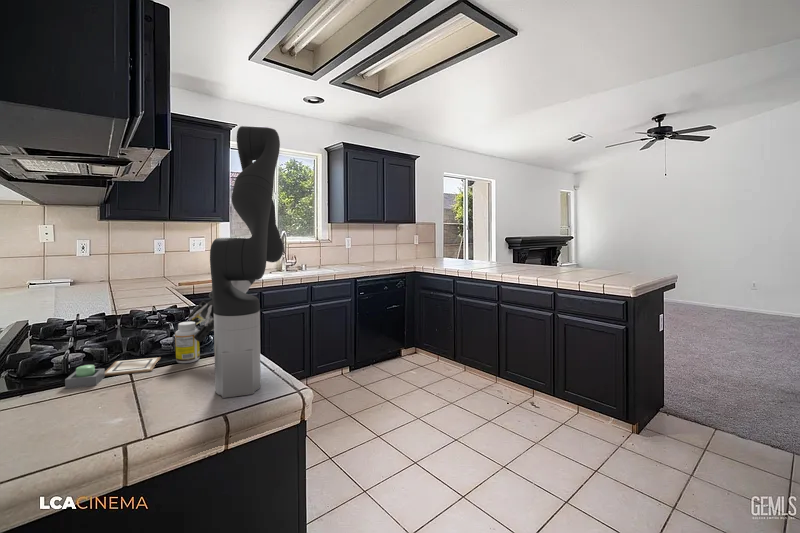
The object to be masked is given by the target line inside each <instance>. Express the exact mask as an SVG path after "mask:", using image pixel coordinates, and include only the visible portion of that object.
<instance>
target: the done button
mask: <svg viewBox="0 0 800 533" xmlns="http://www.w3.org/2000/svg"><path fill="white" fill-rule="evenodd" d="M95 369H96V367H95V365H94V364H85V365H80V366H78V367H76V368H75V371H76V377H86V376H93V375H95Z"/></svg>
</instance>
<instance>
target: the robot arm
mask: <svg viewBox="0 0 800 533" xmlns="http://www.w3.org/2000/svg"><path fill="white" fill-rule="evenodd" d="M280 140H281V139H280V136H279V133H278V132H277V130H276V129H275V128H273V127H271V126H270V127H269V126H257V125H256V126H255V125H241V126H240V127H239V128H238V129H237V131H236V146H237V153H238V157H239V163H240V165H241V172H239V174H238V175H237V176H236V178H235V180H234V184H233V189H232V193H231V203H232V206H233V208H234V210H235V212H236V213H237V215H238V216H239V218H240V219H241V220H242V221H243V223H245V225H246V226H247V229H248V230H249V231H250V234H251V236H250V237H218V238H215V239H214V240H213V241H212V242H211V245H210V250H209V264H210V268H209V269H210V277H211V291H210V292H209V294H208V297H209V299H210V300H209V301H208V302H206V301H204V300H201V302H199V304H198V305H197V306H196V307H195V308H194V309H193V310H192V311H191V312H190V313H189V314H188V316H187V318H188V320H189V321H188V322H195V326H196V327H197V325H198V324H200V323H204V322H205V323H204V325H202V327H201V328H200V329H198V330H199V332H198V333H197V334H196V335H195V336H194V338H195V339H196V340H197V341H199V343H201V342H203V341H204V340H205V338H207V336H208V335H209V333H211V332H212V331H213V343H214V346H213V348H214V349H213V350H214V352H213V353H214V383H215V384H214V385H215V386H214V388H215V391H214V392H215V393H216V394H217V395H218V396H221V398H222V399H224V398H225V399H226V398H233V397H240V396H241V397H242V396H246V395H247V396H248V395H254V394H255V392H256V391H257V390H259V389H260V388H261V386H262V385H261V380H262V379H261V376H262V375H261V372H262V370H261V368H262V367H261V310H260V309H261V307H260V306H261V304H260V299H259V298H258V297H257V296H255V295H252V294H248V291H249V289H250V288H251V286H252V285H254V283H255V282H256V281H257V280H261V279H262V278H263V276H264V274H265V271H266V267H267V263H277V262H278V261H280V259H282V257H283V254H284V244H283V240H282V238H281V234H280V231H279V229H278V226H277V218H276V217H277V216H276V207H275V206H276V205H275V203H274V200H273V196H274V194H273V193H274V182H275V181H274V180H275V174H276V169H277V168H276V167H277V164H278V159H279V154H280V150H281V149H280V148H281V147H280V146H281V142H280Z"/></svg>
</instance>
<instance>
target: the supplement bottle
mask: <svg viewBox="0 0 800 533" xmlns="http://www.w3.org/2000/svg"><path fill="white" fill-rule="evenodd" d="M177 329H178V330H176V331H175V332H174V337H175V338H174V342H175V344H174V345H175V360H176V363H178V364H189V363H190V364H191V363H193V362H196V361H198V360H200V358H201V353H200V350H201V349H200V342H199V341H197V340H196V339H195V338H194V336H195V335H196V334H197V333H198V332H199V330H200V329H198V328H197V325H196V326H195V322H189V321H182V322H179V323H177Z"/></svg>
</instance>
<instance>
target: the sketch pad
mask: <svg viewBox="0 0 800 533" xmlns="http://www.w3.org/2000/svg"><path fill="white" fill-rule="evenodd" d="M161 359H162V357H161V356H159V357H157V356H156V357H148V358H147V357H146V358H137V359H136V358H135V359H127V360H115V361H114V362H113V363H112V364H111V365H110V366H109V367H108V368H107V369H105V377H109V376H117V375H118V376H119V375H121V376H122V375H129V374H138V373H146V372H147V373H148V372H153V370H154V369H155V367H156V366H157V365H156V363H157V362H158V361H160V360H161ZM158 363H159V362H158ZM158 363H157V364H158ZM155 365H156V366H155Z"/></svg>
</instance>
